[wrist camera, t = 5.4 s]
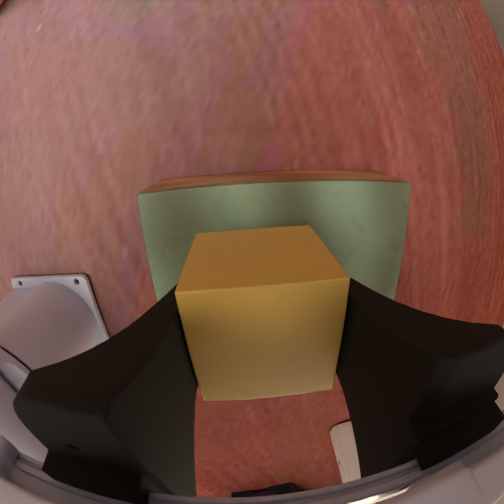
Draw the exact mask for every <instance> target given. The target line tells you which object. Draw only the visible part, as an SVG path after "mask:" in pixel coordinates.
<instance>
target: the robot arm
mask: <svg viewBox="0 0 504 504" xmlns="http://www.w3.org/2000/svg"><path fill="white" fill-rule="evenodd" d="M76 279H77V280H78V281H79V282H77V280H76ZM11 284H12V286H13V290H12V291H11V292H10V293H9V294H8V295H7V296H6V297H5V298H4V299H3V300H2V301H1V302H0V504H366V503H369V502H372V501H376V500H378V499H381V498H384V497H387V496H390V495H392V494H395V493H398V492H400V491H403V490H405V489H407V488H408V489H407V491H406V492H403V493H401V494H398V495H396V496H393V497H391V498H388V499H385V500H382V501H379V502H377V503H374V504H495V503H496V502H497V501H498V500H499V499H500V498H502V497H503V496H504V410H503V411H501V410H500V409H499V407H498V406H497V404H496V403H495V402H494V401H495V400H496V399H497V398H498V393H497V392H496V391H495V389H494V387H495V385H496V384H497V382H498V381H499V379H500V378H501V376H502V374H503V373H504V329H503V328H502V327H501V326H499V325H494V324H482V323H471V322H465V321H459V320H453V319H449V318H444V317H440V316H437V315H433V314H430V313H426V312H423V311H420V310H417V309H414V308H412V307H409V306H406V305H404V304H401V303H399V302H396V301H394V300H392V299H390V298H388V297H386V296H384V295H382V294H380V293H378V292H376V291H374V290H372V289H370V288H368V287H367V286H365V285H363V284H361V283H359V282H358V281H356V280H354V279H352V278H351V277H350V283H349V291H348V299H347V307H346V314H345V321H344V327H343V333H342V339H341V345H340V351H339V356H338V362H337V367H336V374H337V376H338V378H339V381H340V384H341V386H342V389H343V393H344V396H345V400H346V404H347V407H348V411H349V415H350V419H351V424H352V428H353V433H354V438H355V443H356V448H357V454H358V460H359V467H360V474H361V479H357V480H353V481H350V482H346V483H342V484H338V485H333V486H329V487H324V488H319V489H314V490H308V491H302V492H296V493H288V494H280V495H271V496H258V497H238V498H210V497H196V483H195V462H194V421H195V400H196V392H197V386H198V382H197V378H196V375H195V371H194V368H193V364H192V361H191V357H190V353H189V350H188V346H187V342H186V338H185V334H184V330H183V326H182V322H181V318H180V314H179V310H178V305H177V301H176V296H175V290H176V287H177V285H178V284H176V285H175V286H174V287H173V288H172V289H171V290H170V291H169V292H168V293H167V294H166V295H165V296H164V297H163V298H162V299H160V300H159V301H158V302H157V303H156V304H155V305H154V306H153V307H152V308H150V309H149V310H148V311H147V312H146V313H144V314H143V315H142V316H141V317H140V318H138V319H137V320H136V321H135V322H133V323H132V324H131V325H129V326H128V327H126V328H125V329H123V330H122V331H120V332H119V333H117V334H116V335H114V336H113V337H111V338H109V336H108V333H107V331H106V328H105V325H104V323H103V320H102V318H101V315H100V312H99V309H98V307H97V304H96V301H95V298H94V295H93V292H92V289H91V286H90V283H89V279H88V277H87V276H86V275H84V274H68V275H46V276H23V277H13V278H12V279H11Z"/></svg>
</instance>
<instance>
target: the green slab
mask: <svg viewBox="0 0 504 504" xmlns="http://www.w3.org/2000/svg"><path fill="white" fill-rule="evenodd" d="M410 188H411V183H410V182H407V181H404V180H401V179H398V178H395V177H392V176H389V175H386V174H383V173H380V172H376V171H361V170H291V171H264V172H245V173H230V174H217V175H205V176H195V177H185V178H176V179H167V180H160V181H158V182H157V183H155V184H153V185H152V186H150V187H148V188H147V189H145V190H144V191H142V192H140V193H139V194H137V200H138V207H139V213H140V219H141V225H142V231H143V236H144V242H145V247H146V252H147V257H148V262H149V267H150V271H151V276H152V280H153V284H154V289H155V293H156V297H157V301H159V300H160V299H162V298H163V297H164V296H165V295H166V294H167V293H168V292H169V291H170V290H171V289H172V288H173V287H174V286H175V285H176V284H178V282H179V279H180V276H181V273H182V271H183V268H184V265H185V262H186V260H187V257H188V254H189V252H190V249H191V246H192V244H193V241H194V239H195V236H196V234H197V233H207V232H219V231H232V230H245V229H258V228H272V227H287V226H303V225H309V226H310V227H311V228H312V229H313V231H314V232H315V233H316V234H317V236H318V237H319V238H320V239H321V241H322V242H323V243H324V244H325V246H326V247H327V248H328V250H329V251H330V252H331V253H332V255H333V256H334V257H335V259H336V260H337V261H338V262H339V264H340V265H341V266H342V268H343V269H344V270H345V272H346V273H347V274H348V276H349V277H351V278H352V279H354V280H356V281H358V282H359V283H361V284H363V285H365V286H367V287H368V288H370V289H372V290H374V291H376V292H378V293H380V294H382V295H384V296H386V297H388V298H390V299H392V300H394V297H395V293H396V288H397V283H398V278H399V273H400V268H401V262H402V256H403V250H404V243H405V236H406V229H407V221H408V211H409V201H410Z"/></svg>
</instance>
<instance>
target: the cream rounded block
mask: <svg viewBox="0 0 504 504" xmlns="http://www.w3.org/2000/svg"><path fill="white" fill-rule="evenodd" d="M330 435H331V439H332V443H333V447H334V451H335V455H336V458H337V462H338V466H339V470H340V474H341V478H342V482H343V483H346V482H350V481H353V480H357V479H361V474H360V467H359V460H358V454H357V448H356V443H355V438H354V433H353V428H352V424H351V421H348V422H344V423H341V424H338V425H335V426H334V427H333V428H332V429H331V431H330ZM407 489H408V488H407ZM407 489H405V490H403V491H400V492H398V493H395V494H392V495H390V496H387V497H384V498H381V499H378V500H376V501H372V502H369V503H366V504H374V503H377V502H379V501H382V500H385V499H388V498H391V497H393V496H396V495H398V494H401V493H403V492H406V491H407Z"/></svg>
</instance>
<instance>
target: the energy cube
mask: <svg viewBox="0 0 504 504" xmlns="http://www.w3.org/2000/svg"><path fill="white" fill-rule="evenodd" d="M302 491H305V490H301V491H299V487H298V486H296V485H295V484H293V483H291V482H290V483H286V484H282V485H277V486H272V487H269V488H268V490H266V491H261V492H255V491H253V490H251V491H244V492H237V493H232V498H238V497H258V496H271V495H280V494H288V493H296V492H302Z"/></svg>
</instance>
